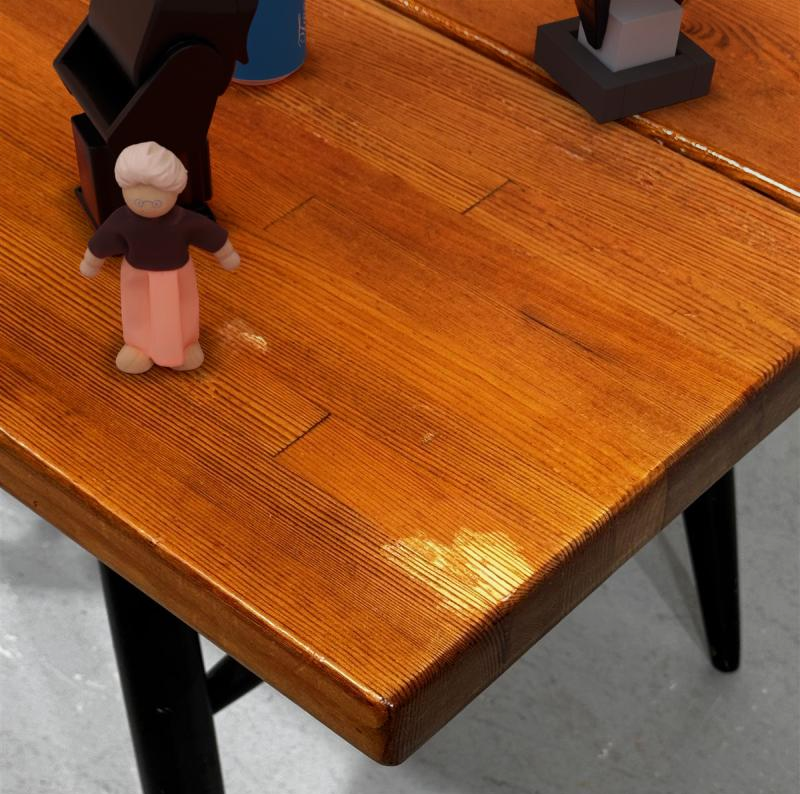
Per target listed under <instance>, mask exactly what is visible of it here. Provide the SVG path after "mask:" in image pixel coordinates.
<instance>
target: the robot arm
mask: <svg viewBox="0 0 800 794" xmlns="http://www.w3.org/2000/svg"><path fill="white" fill-rule="evenodd" d="M573 1H574V4H575V7H576V10H577V14H578V16H579V17H580V20H581V23H582V27H583V30H584V33H585V36H586V39H587V42H588V44H589V45H590V46H591V47H592V48H593V49H595V50H598V49H601V47H602V44H603V40H604V37H605V33H606V29H607V23H608V16H609V9H610V3H611V0H573ZM674 1H675V2H676V3H677V4H679V5H680V6H681V7H682V4H683V3H684V0H674ZM257 7H258V0H90V1H89V4H88V9H87V10H88V12H87V14H86V15H85V17H84V19H82V21H81V23H80V24H79V25H78V26H77V28H76V29H75V30H74V32H73V33H72V34H71V36H70V37H69V39H68V40H67V42H66V43H65V44H64V46H62V48H61V49H60V51H59V52H58V54H57V55H56V56H55V58H54V59H53V61H52V64H51V65H52V68H53V69H54V71H55V72H56V74H57V76H58V77H59V79H60V81H61V82H62V85H63V86H64V88H65V89H66V90H67V92H68V93H69V95H70V96H72V97H73V98H74V99H75V100H76V102H77V104H78V105H79V106H80V108H81V110H82V111H83V112H82V113H78V114H74V115H72V116H71V117H70V124H71V130H72V135H73V136H72V137H73V142H74V143H73V144H74V150H75V155H76V160H77V162H76V163H77V169H78V174H79V175H78V176H79V183H80V184H79V185H78V186H76V187H75V188H74V189H73V193H74V198H75V200H76V202H77V204H78V206H79V207H80V209H81V210H82V212H83V214H84V216H85V217H86V219H87V221H88V223H89V224H90V226H91V228H92V229H93V231H94V233H95V232H96V231H97V230H98V229H99V227H100V226H101V225H102V224H103V223H104V222H105V221H106V220H107V219H108V217H109V216H110V215H111V214H112V213H113V212H114V211H115V210H116V209H118V208H120V207H122V206H124V205H127V203H126V202H125V199H124V196H123V191H122V187H120V186H119V184H118V182H117V181H116V177H115V166H116V162H117V159H118V157H119V156H120V154H121V153H122V151H123V150H124V149H125V148H127V147H129V146H132V145H137V144H140V143H146V142H156V143H157V144H158V145H160V146H161V147H164V148H165V149H167V150H169V151H171V152H172V153H173V154H174V155H175V156H176V157H177V158H178V159H179V160H180V161H181V163H182V164H183V166H184V168H185V169H186V170H187V171H188V173H187V183H186V186H185V188H184V189H183V190H182V192H181V193H179V194H178V196H177V200H176V202H175V205H178V206H180V207H182V208H184V209H187V210H190V211H193V212H196V213H199V214H201V215H204V216H205V217H207V218H209V219H210V220H212V221H213V222H215V223H216V224H218V221H217V219H218V218H217V216H216V214H215V213H214V211H213V210H212V208H211V207H210V205H209V204H208V203H207V202H209V201H211V200H212V199H213V197H214V190H213V177H212V165H211V152H210V140H209V138H208V133H209V130H210V127H211V123H212V120H213V116H214V113H215V109H216V106H217V103H218V99H219V98H220V97H222V96H223V95H225V93H226V92H227V90H228V88H229V87H230V86H231V83H232V82H233V81H232V78H233V75H234V72H235V70H236V63H237V60H238V61H239V62H240V63H242V64H243V65H246V64H248V62H249V59H248V53H247V38H248V32H249V29H250V26H251V23H252V20H253V18H254V15H255V13H256V10H257ZM120 255H124V253H121V254H116V255H115V256H120Z"/></svg>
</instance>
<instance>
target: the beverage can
mask: <svg viewBox="0 0 800 794" xmlns="http://www.w3.org/2000/svg"><path fill="white" fill-rule="evenodd" d="M306 18H307V17H306V0H258V7H257V10H256V13H255V15H254V18H253V20H252V23H251V26H250V29H249V32H248V38H247V53H248V59H249V62H248V64H246V65H243V64H242V63H240V62H239V61H238V60H237V63H236V70H235V72H234V75H233V78H232V81H231V82H234V83H237V84H240V85H244V86H245V85H246V86H266V85H272V84H275V83H278V82H281V81H283V80H285V79H286V78H288V77H289V76H290V75H291V74H293V73H295V72H296V71H298V70H299V68H301V67H302V65H303V64H304V63H305V61H306V58H307V30H306V29H307V27H306V25H307V24H306Z"/></svg>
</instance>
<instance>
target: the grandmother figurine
mask: <svg viewBox="0 0 800 794" xmlns="http://www.w3.org/2000/svg"><path fill="white" fill-rule="evenodd" d="M187 173H188V171H187V170H186V169H185V168H184V166H183V164H182V163H181V161H180V160H179V159H178V158H177V157H176V156H175V155H174V154H173V153H172V152H171V151H169V150H167V149H165V148H164V147H161V146H160V145H158V144H157V143H156V142H146V143H140V144H137V145H132V146H129V147H127V148H125V149H124V150H123V151H122V153H121V154H120V156H119V157H118V159H117V162H116V166H115V177H116V181H117V182H118V184H119V186H120V187H122V191H123V196H124V199H125V202H126V203H127V205H124V206H122V207H120V208H118V209H116V210H115V211H114V212H113V213H112V214H111V215H110V216H109V217H108V219H107V220H106V221H105V222H104V223H103V224H102V225H101V226H100V227H99V229H98V230H97V231H96V232H95V231H94V234H93V235H92V236H91V237H90V238H89V239H88V243H87V248H86V250H85V252H84V254H83V255H84V257H83V259H82V260H81V262H80V263H79V272H80V273H81V275H82V276H83V277H85V278H88V279H94V278H96V277H98V276H99V275H100V273H101V271H102V266H103V265H104V264H105V262H106V259H107V258H109V257H111V256H117V255H116V254H120V255H122V254H121V253H123V258H122V261H121V264H120V274H119V275H120V279H119V281H120V285H119V287H120V288H119V289H120V306H121V307H120V308H121V324H122V334H123V335H122V336H123V341H124V345H123V346H122V348H121V349H120V350H119V352H118V354H117V355H116V358H115V365H116V367H117V368H118V370H119V371H121V372H123V373H127V374H137V375H138V374H142V373H145V372H147V371H149V370H150V369H151V368H152V367H153V366H154V364H156V365H158V366H159V367H166V368H170V369H172V370H173V371H179V372H180V371H181V372H182V371H192V370H195V369H198V368H200V366H202V365H203V363H204V362H205V355H204V352H203V349H202V347H201V345H200V341H199V339H200V300H199V299H200V298H199V297H200V296H199V290H198V281H197V275H196V274H197V273H196V268H195V264H194V261H193V258H192V256H191V253H190V252H189V247H190V246H193V247H195V248H197V249H200V250H202V251H204V252H207V253H210V254H212V255H213V256H214V257H215V258H216V259H218V263H219V265H220V267H221V268H222V269H223V270H224V271H225V270H226V271H227V272H232V271H236V270H237V269H238V268H239V267H240V265H241V257H240V254H239V253H238V252H237V251H236V250H234V247H233V244H232V243H231V241H230V239H229V231H228V230H227V229H226V228H224V227H223V226H221V225H220V224H218V223H217V224H216V223H215V222H213V221H212V220H210V219H209V218H207V217H205V216H204V215H201V214H199V213H196V212H193V211H190V210H187V209H184V208H182V207H180V206H178V205H175V202H176V200H177V196H178V194H179V193H181V192H182V190H183V189H184V188H185V186H186V183H187Z"/></svg>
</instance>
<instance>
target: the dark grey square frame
mask: <svg viewBox="0 0 800 794" xmlns="http://www.w3.org/2000/svg"><path fill="white" fill-rule="evenodd" d="M579 27H580V17H579V15H577V16H573V17H568V18H564V19H560V20H557V21H551V22H547V23H544V24H543V23H542V24H539V25H537V26H536V32H535V33H536V34H535V44H534V51H533V61H534V62H535V63H536V64H537V65H538V66H539V67H540V68H542V70H543V71H544V72H546V73H547V74H548V76H550V77H551V78H552V79H553V80H554V81H555V82H556V83H557V84H558V85H559V86H560V87H561V88H562V89H564V91H565V92H567V94H569V95H570V96H571V98H573V99H574V100H575V102H577V104H579V105H580V106H581V107H582V108H583V109H584V110H585V111H586V112H587V113H588V114H589V115H590V116H592V117H593V118H594V119H595V120H596V121H597V123H598V124H605V123H608V122H613V121H616V120H619V119H624V118H627V117H631V116H635V115H638V114H643V113H645V112H646V113H647V112H649V111H653V110H657V109H660V108H665V107H668V106H672V105H675V104H678V103H682V102H686V101H689V100H693V99H696V98H701V97H704V96H707V95H710V91H711V85H712V81H713V75H714V71H715V68H716V67H715V66H716V63H717V62H716V58H714V57H713V56H712V55H710V54H709V53H708V52H707V51H706V50H705V49H703V48H702V47H701V46H700V45H699V44H698V43H696V42H695V41H694V40H692V39H691V38H690V37H689V36H688V35H687V34H685V33H684V32H683V31H681V29H680V30H679V36H678V41H677V46H676V52H675V56H674V57H670V58H666V59H662V60H659V61H655V62H651V63H647V64H643V65H639V66H636V67H632V68H628V69H624V70H620V71H616V72H614V73H613V72H612V71H611V70H610V69H608V68H607V67H606V66H605V65H604V64H603V63H602V62H601V61H600V60H599V59H597V58H596V57H595V56H594V55H593V54H592V53H591V52H590V51H589V50H588V49H586V48H585V47H584V46H583V45H582V44H581V43H580V42H579V41H578V34H579Z"/></svg>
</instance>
